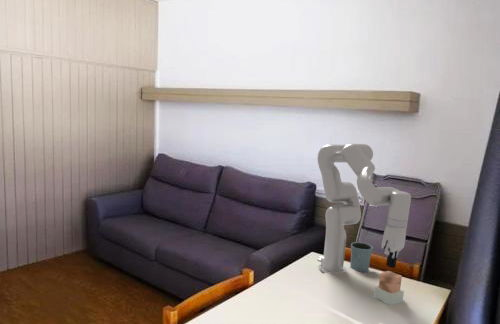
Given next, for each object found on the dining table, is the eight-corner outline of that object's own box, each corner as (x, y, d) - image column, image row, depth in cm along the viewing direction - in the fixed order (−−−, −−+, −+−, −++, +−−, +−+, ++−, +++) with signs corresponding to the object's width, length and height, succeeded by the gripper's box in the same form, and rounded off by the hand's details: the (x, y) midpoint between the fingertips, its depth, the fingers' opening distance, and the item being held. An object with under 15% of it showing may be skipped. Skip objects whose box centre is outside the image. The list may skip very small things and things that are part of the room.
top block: (378, 287, 164) (380, 273, 163) (386, 284, 168) (388, 270, 167) (392, 293, 159) (393, 278, 159) (400, 290, 163) (401, 275, 163)
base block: (374, 296, 165) (375, 287, 164) (384, 292, 170) (386, 283, 169) (391, 304, 159) (393, 295, 158) (402, 299, 164) (403, 290, 163)
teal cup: (365, 265, 202) (368, 242, 201) (373, 274, 192) (376, 249, 191) (345, 265, 202) (348, 241, 200) (352, 273, 192) (354, 248, 190)
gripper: (398, 217, 168) (392, 259, 171) (378, 222, 158) (371, 266, 161) (415, 222, 162) (409, 266, 165) (395, 227, 153) (388, 274, 155)
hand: (390, 266), depth 163 cm, fingers closed
